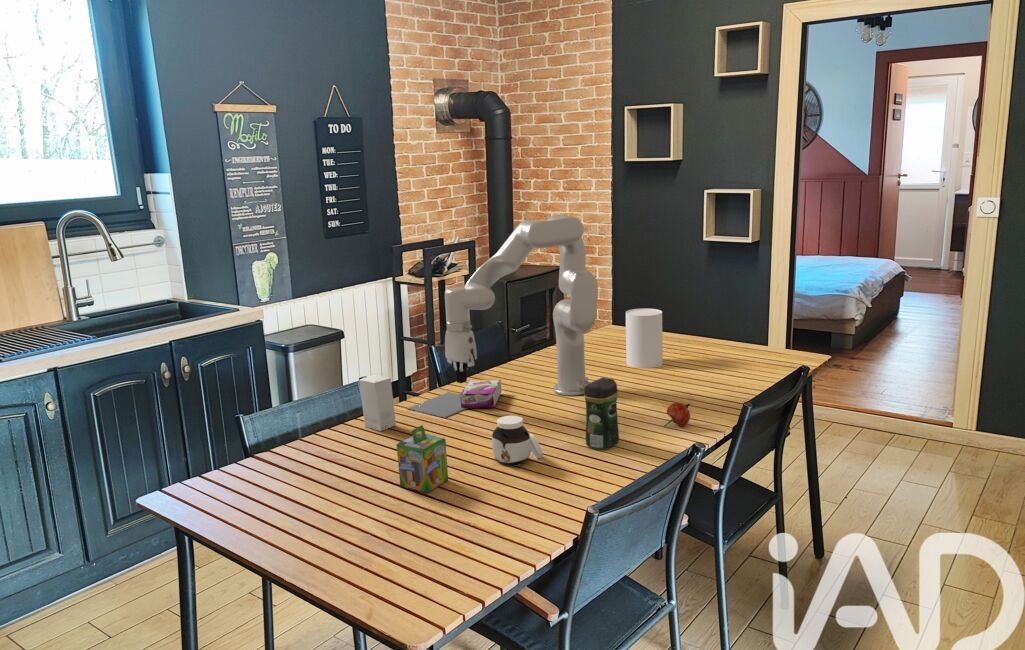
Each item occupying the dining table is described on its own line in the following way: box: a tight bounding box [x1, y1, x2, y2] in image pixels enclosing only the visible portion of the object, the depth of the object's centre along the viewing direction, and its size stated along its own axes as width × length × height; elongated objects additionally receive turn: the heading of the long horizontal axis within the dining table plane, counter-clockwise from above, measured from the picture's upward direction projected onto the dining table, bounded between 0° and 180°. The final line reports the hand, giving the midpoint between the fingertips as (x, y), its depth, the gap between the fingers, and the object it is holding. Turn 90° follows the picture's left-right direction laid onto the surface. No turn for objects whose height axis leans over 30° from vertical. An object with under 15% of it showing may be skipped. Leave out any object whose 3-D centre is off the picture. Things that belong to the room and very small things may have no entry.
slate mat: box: [406, 391, 469, 419], centre depth 256 cm, size 17×20×1 cm
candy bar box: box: [460, 378, 502, 409], centre depth 257 cm, size 11×5×16 cm
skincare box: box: [358, 374, 397, 432], centre depth 237 cm, size 8×7×16 cm
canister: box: [625, 307, 663, 369], centre depth 292 cm, size 14×14×20 cm
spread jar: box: [491, 415, 544, 467], centre depth 206 cm, size 12×11×12 cm
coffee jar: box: [583, 377, 620, 450], centre depth 213 cm, size 10×8×19 cm
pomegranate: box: [663, 402, 691, 428], centre depth 226 cm, size 7×7×10 cm
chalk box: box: [396, 424, 449, 494], centre depth 194 cm, size 9×9×15 cm
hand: (461, 381), depth 249 cm, fingers closed
